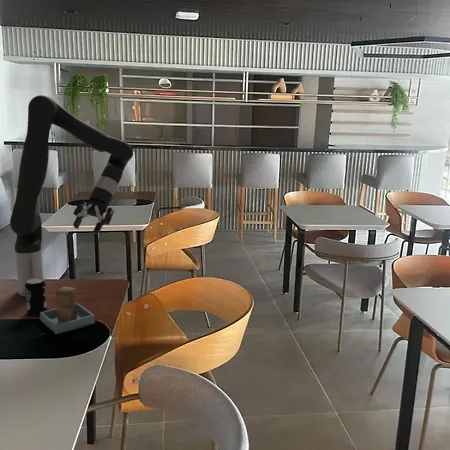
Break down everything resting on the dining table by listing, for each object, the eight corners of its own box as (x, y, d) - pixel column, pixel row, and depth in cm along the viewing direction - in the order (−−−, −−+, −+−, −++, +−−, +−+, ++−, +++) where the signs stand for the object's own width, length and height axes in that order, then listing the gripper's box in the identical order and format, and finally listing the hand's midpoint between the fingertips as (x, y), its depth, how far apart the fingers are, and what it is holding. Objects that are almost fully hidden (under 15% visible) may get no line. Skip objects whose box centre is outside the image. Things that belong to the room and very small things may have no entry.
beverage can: (42, 316, 160) (40, 283, 157) (23, 316, 160) (21, 283, 157) (50, 309, 166) (48, 277, 164) (32, 308, 166) (29, 276, 164)
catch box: (40, 320, 157) (39, 312, 156) (77, 310, 165) (77, 302, 165) (56, 334, 147) (55, 325, 146) (94, 323, 156) (94, 315, 155)
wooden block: (66, 316, 159) (64, 286, 156) (77, 318, 158) (75, 288, 155) (57, 321, 155) (56, 290, 152) (69, 324, 153) (67, 292, 151)
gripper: (83, 182, 170) (63, 221, 165) (116, 190, 165) (96, 230, 160) (92, 192, 177) (74, 230, 171) (124, 200, 172) (106, 239, 167)
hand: (85, 230), depth 166 cm, fingers open, 8 cm apart
